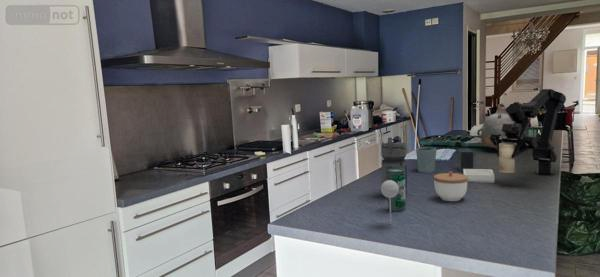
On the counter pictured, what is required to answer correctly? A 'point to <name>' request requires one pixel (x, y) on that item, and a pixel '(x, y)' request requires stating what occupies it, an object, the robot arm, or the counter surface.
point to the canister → (506, 157)
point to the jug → (494, 125)
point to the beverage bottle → (393, 157)
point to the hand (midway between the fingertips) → (504, 156)
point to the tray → (479, 175)
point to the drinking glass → (426, 159)
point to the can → (399, 200)
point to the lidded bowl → (450, 186)
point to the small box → (465, 159)
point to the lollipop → (389, 191)
